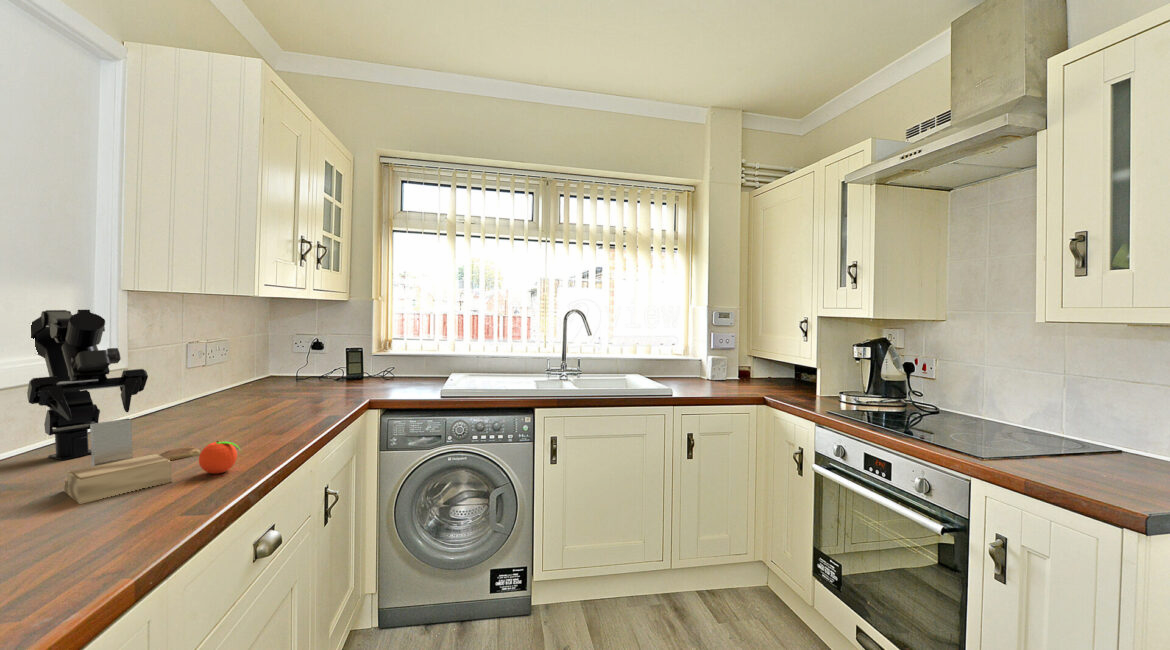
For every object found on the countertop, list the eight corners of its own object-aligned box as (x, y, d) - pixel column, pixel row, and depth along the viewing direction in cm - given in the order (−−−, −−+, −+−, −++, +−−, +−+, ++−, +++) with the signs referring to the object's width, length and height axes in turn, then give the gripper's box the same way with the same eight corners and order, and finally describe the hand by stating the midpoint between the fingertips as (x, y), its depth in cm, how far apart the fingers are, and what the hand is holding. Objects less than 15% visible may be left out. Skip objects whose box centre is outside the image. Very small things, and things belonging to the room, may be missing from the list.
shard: (145, 468, 116) (145, 460, 116) (134, 462, 121) (134, 455, 121) (201, 456, 125) (201, 449, 125) (189, 451, 130) (189, 444, 130)
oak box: (63, 491, 101) (62, 467, 101) (152, 471, 113) (151, 450, 113) (79, 504, 95) (78, 479, 94) (172, 482, 106) (171, 459, 106)
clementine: (248, 466, 116) (247, 435, 116) (235, 476, 110) (234, 444, 109) (208, 469, 115) (207, 438, 114) (192, 479, 108) (191, 446, 108)
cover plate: (92, 486, 104) (90, 423, 103) (130, 478, 109) (128, 418, 108) (95, 488, 103) (92, 425, 102) (133, 479, 108) (131, 419, 107)
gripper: (27, 339, 104) (42, 398, 98) (143, 334, 119) (162, 385, 114) (21, 374, 109) (35, 432, 103) (134, 365, 124) (151, 415, 118)
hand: (99, 415), depth 109 cm, fingers open, 9 cm apart
